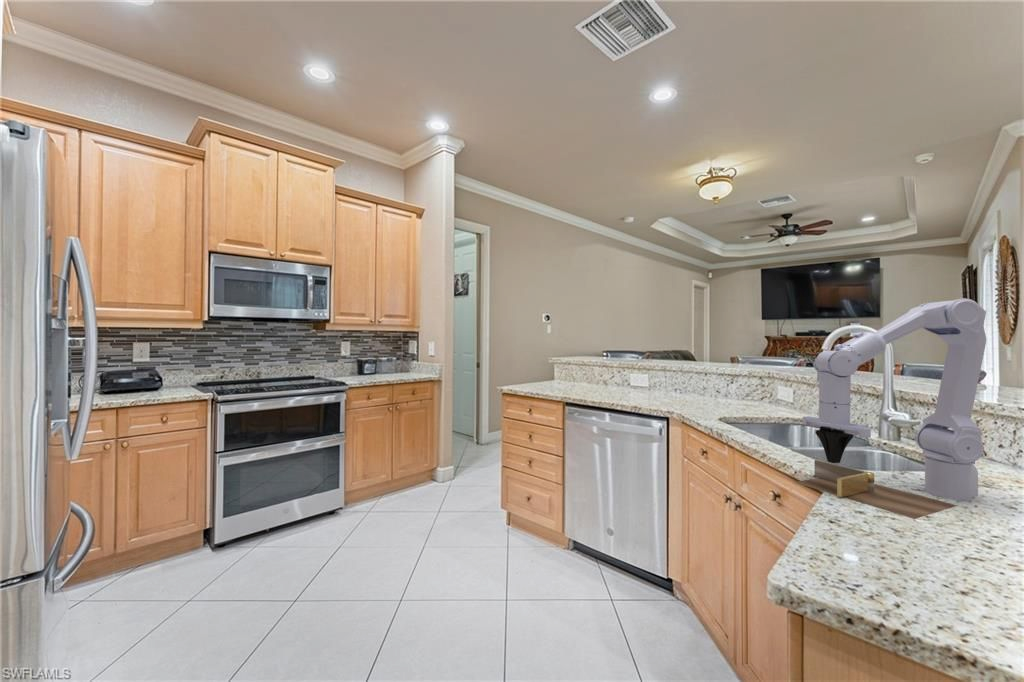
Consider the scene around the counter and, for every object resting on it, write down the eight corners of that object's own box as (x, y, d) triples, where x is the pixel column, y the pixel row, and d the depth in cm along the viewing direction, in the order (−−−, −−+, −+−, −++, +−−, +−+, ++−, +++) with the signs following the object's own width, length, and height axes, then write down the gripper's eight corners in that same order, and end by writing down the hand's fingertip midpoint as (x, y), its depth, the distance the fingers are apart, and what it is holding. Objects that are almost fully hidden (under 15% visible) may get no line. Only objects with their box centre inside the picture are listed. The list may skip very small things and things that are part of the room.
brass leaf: (866, 487, 94) (866, 471, 94) (875, 490, 92) (876, 473, 93) (834, 495, 89) (834, 477, 89) (844, 498, 88) (844, 480, 88)
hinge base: (832, 476, 106) (832, 456, 106) (957, 510, 85) (957, 485, 85) (789, 484, 99) (789, 464, 99) (914, 523, 78) (914, 497, 78)
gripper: (792, 398, 101) (791, 454, 101) (852, 408, 87) (851, 472, 86) (816, 398, 102) (815, 453, 102) (879, 407, 88) (878, 471, 88)
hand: (833, 462), depth 94 cm, fingers closed
